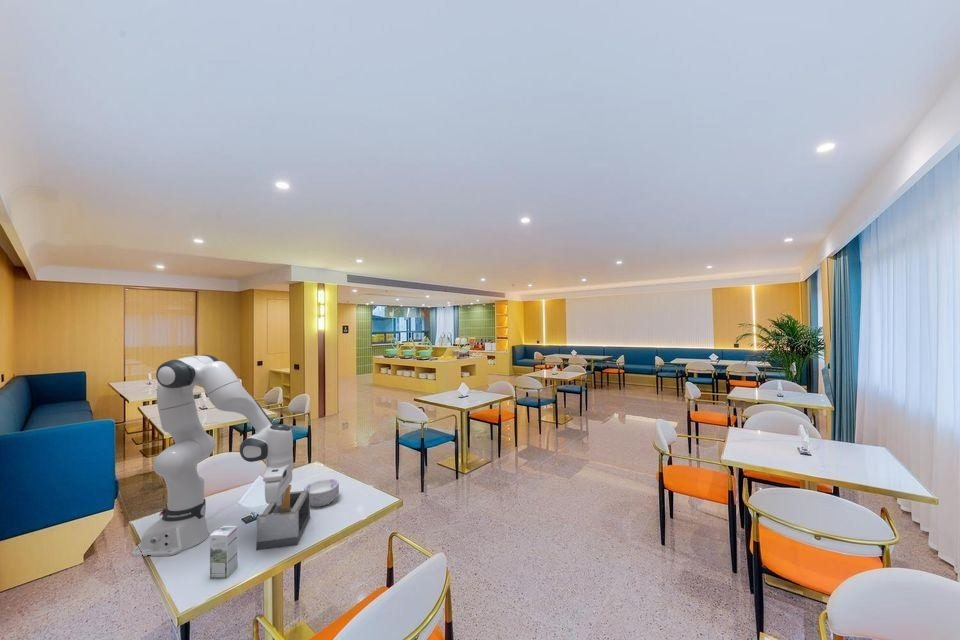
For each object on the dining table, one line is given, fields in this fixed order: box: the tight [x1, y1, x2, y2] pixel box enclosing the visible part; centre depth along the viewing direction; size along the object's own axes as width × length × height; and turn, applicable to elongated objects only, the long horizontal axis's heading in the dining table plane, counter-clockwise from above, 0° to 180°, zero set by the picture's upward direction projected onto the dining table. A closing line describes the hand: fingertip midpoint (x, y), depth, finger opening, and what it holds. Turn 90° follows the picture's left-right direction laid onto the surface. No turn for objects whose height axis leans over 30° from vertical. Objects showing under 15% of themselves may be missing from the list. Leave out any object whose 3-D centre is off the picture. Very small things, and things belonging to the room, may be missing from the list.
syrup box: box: [209, 525, 238, 579], centre depth 121 cm, size 6×6×14 cm
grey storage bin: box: [255, 490, 311, 551], centre depth 144 cm, size 20×14×12 cm
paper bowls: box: [303, 478, 340, 508], centre depth 170 cm, size 15×15×8 cm
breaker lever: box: [279, 484, 292, 513], centre depth 144 cm, size 2×4×10 cm, turn 103°
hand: (280, 503), depth 138 cm, fingers closed
